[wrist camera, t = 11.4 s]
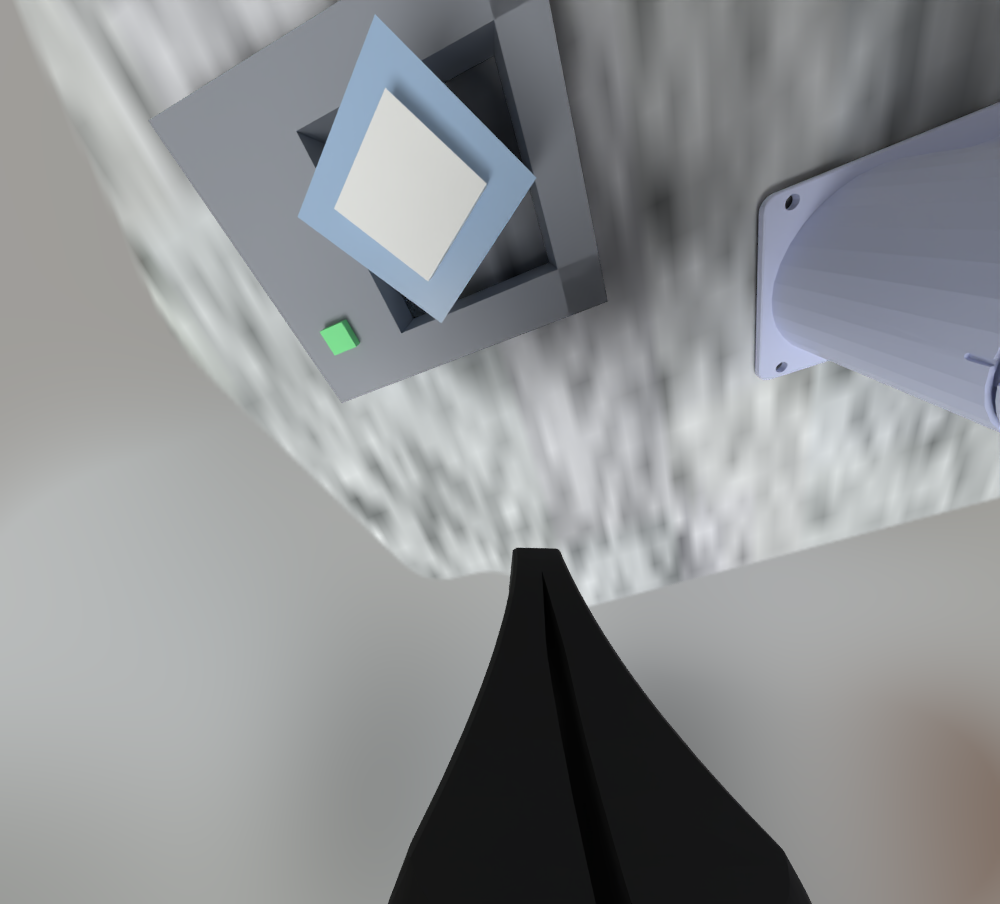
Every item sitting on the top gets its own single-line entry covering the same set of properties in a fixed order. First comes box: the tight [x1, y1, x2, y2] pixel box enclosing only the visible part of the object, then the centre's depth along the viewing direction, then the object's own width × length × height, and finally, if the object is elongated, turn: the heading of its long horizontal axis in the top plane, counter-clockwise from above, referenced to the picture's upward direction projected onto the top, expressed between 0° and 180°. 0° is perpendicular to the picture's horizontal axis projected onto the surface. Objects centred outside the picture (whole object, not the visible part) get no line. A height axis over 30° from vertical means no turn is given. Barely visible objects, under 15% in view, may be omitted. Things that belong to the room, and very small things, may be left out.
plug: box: [298, 15, 536, 323], centre depth 11 cm, size 4×4×8 cm
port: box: [148, 0, 607, 403], centre depth 13 cm, size 12×10×3 cm
